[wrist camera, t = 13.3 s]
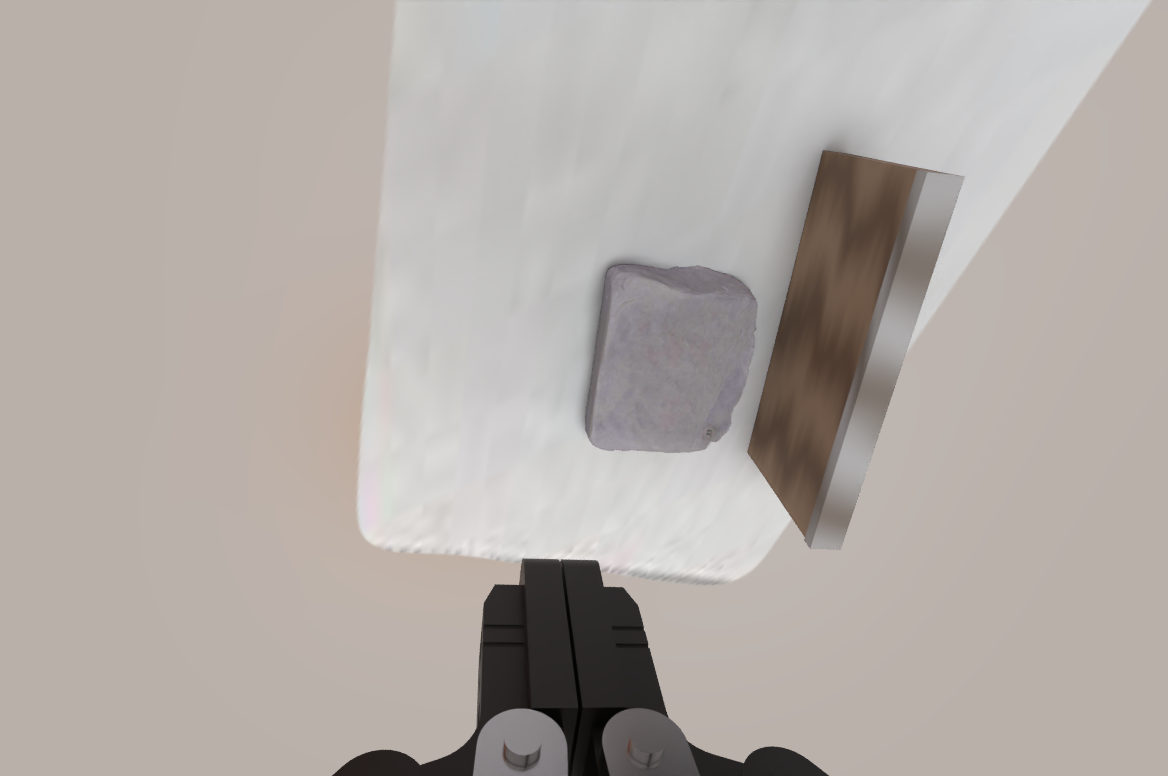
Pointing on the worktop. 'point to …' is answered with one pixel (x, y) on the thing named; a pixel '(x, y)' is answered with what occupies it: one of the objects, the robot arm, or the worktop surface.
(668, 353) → the stone block
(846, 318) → the walnut wall board
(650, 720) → the robot arm
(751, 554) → the worktop surface
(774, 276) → the worktop surface
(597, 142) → the worktop surface
